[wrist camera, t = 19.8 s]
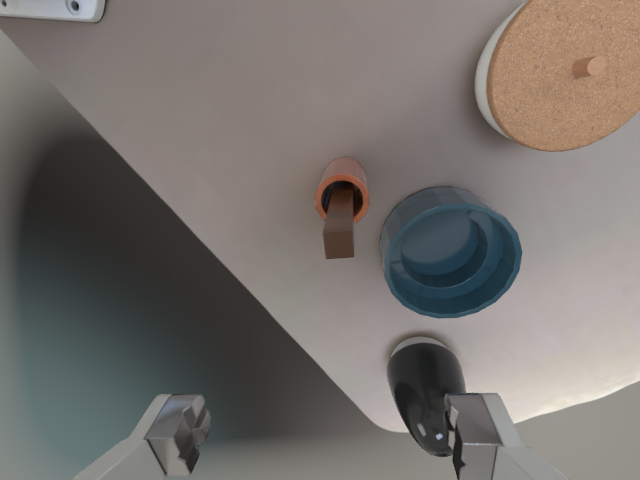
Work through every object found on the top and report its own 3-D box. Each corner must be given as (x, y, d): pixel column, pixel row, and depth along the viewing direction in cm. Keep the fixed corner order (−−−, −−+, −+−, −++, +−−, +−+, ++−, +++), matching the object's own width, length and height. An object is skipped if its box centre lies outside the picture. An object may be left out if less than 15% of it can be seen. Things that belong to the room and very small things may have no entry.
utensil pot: (325, 200, 40) (318, 228, 32) (320, 159, 38) (311, 177, 30) (367, 197, 39) (370, 224, 31) (364, 154, 37) (367, 171, 29)
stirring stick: (337, 189, 39) (325, 259, 22) (336, 173, 38) (322, 233, 22) (354, 188, 38) (354, 257, 22) (352, 171, 38) (351, 231, 21)
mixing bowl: (382, 288, 45) (386, 320, 38) (377, 190, 39) (382, 209, 33) (489, 283, 43) (512, 316, 36) (500, 179, 37) (531, 197, 31)
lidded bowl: (486, -15, 30) (554, -69, 20) (619, 12, 30) (754, -28, 20) (440, 125, 35) (474, 138, 25) (552, 148, 35) (631, 170, 25)
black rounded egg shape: (449, 377, 50) (485, 483, 37) (383, 374, 51) (394, 476, 38) (458, 326, 46) (502, 424, 32) (385, 324, 47) (398, 419, 33)
